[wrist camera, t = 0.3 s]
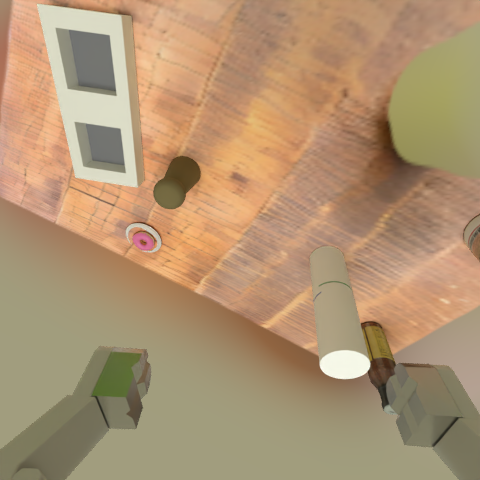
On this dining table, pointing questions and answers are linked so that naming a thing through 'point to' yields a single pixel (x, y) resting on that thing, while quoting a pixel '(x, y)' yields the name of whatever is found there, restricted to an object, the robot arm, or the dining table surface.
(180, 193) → the olive knobbed peg
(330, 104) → the dining table surface
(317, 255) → the cylindrical container
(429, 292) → the dining table surface
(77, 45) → the socket rail
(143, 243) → the donut
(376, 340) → the sauce bottle
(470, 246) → the fruit juice
